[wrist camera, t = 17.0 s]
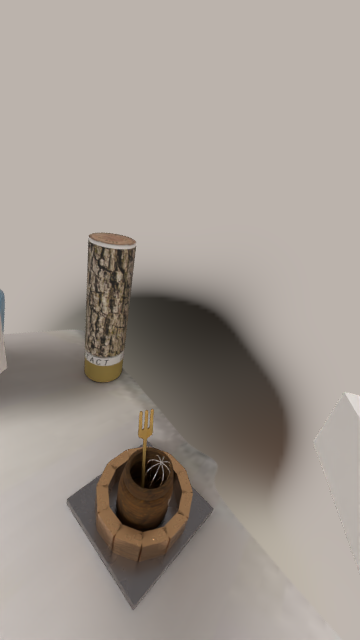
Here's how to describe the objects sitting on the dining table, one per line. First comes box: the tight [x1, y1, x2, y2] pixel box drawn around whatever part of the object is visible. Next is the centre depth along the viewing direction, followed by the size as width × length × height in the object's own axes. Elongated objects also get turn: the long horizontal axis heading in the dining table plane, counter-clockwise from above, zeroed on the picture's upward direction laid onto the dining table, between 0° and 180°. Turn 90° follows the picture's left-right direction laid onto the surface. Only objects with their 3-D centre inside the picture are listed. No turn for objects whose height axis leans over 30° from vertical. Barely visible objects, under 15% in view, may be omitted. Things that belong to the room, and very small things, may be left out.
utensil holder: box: [116, 409, 173, 532], centre depth 29 cm, size 6×6×12 cm
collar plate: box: [67, 441, 213, 610], centre depth 31 cm, size 12×12×4 cm
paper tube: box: [84, 233, 136, 382], centre depth 46 cm, size 7×7×25 cm
